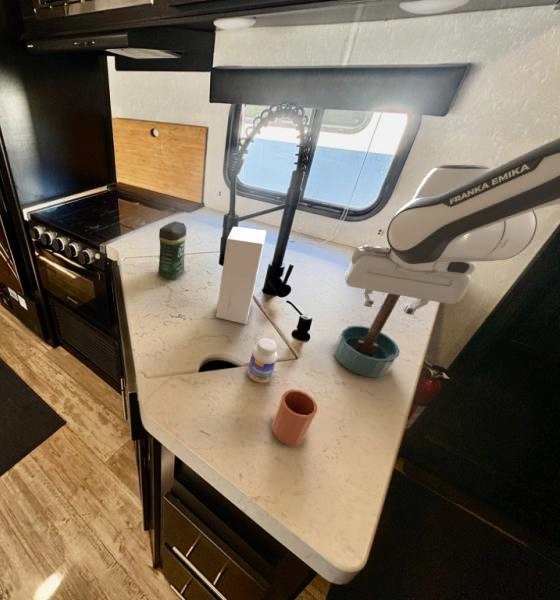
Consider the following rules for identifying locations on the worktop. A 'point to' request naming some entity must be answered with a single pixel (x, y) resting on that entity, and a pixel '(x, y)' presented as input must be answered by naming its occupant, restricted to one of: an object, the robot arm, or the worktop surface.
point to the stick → (377, 326)
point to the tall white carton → (239, 273)
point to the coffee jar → (172, 250)
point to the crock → (294, 417)
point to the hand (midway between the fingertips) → (386, 308)
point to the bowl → (362, 363)
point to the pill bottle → (263, 360)
